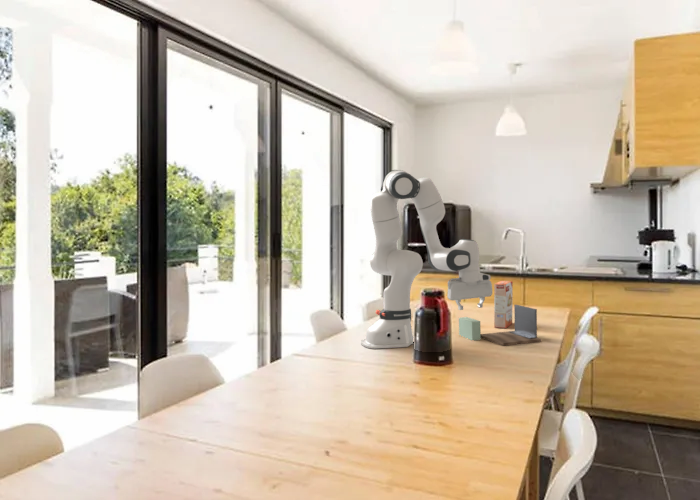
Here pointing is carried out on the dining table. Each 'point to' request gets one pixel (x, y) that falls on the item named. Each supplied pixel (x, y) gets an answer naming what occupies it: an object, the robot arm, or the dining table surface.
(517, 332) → the bookend
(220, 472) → the dining table surface
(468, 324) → the pale green block
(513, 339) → the shelf board
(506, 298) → the cracker box
